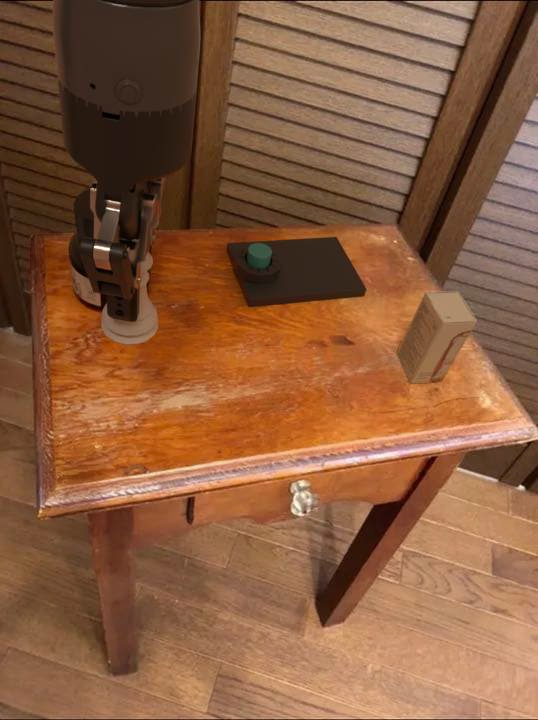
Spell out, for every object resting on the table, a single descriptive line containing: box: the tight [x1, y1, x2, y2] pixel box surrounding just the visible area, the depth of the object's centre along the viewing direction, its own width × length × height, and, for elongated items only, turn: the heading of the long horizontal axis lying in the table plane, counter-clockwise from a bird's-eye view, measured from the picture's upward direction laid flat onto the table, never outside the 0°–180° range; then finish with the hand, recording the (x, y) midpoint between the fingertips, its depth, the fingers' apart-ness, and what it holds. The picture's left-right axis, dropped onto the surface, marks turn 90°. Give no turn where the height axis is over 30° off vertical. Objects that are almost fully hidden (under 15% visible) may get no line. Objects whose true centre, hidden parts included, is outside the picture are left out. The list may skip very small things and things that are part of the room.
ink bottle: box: [68, 187, 150, 312], centre depth 66 cm, size 10×9×12 cm
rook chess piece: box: [100, 239, 159, 346], centre depth 44 cm, size 4×4×8 cm
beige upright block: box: [396, 291, 478, 384], centre depth 67 cm, size 5×4×10 cm
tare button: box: [247, 243, 272, 269], centre depth 74 cm, size 3×3×2 cm
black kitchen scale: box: [226, 236, 367, 308], centre depth 77 cm, size 16×11×3 cm, turn 107°
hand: (129, 299), depth 45 cm, fingers closed on rook chess piece, 3 cm apart
